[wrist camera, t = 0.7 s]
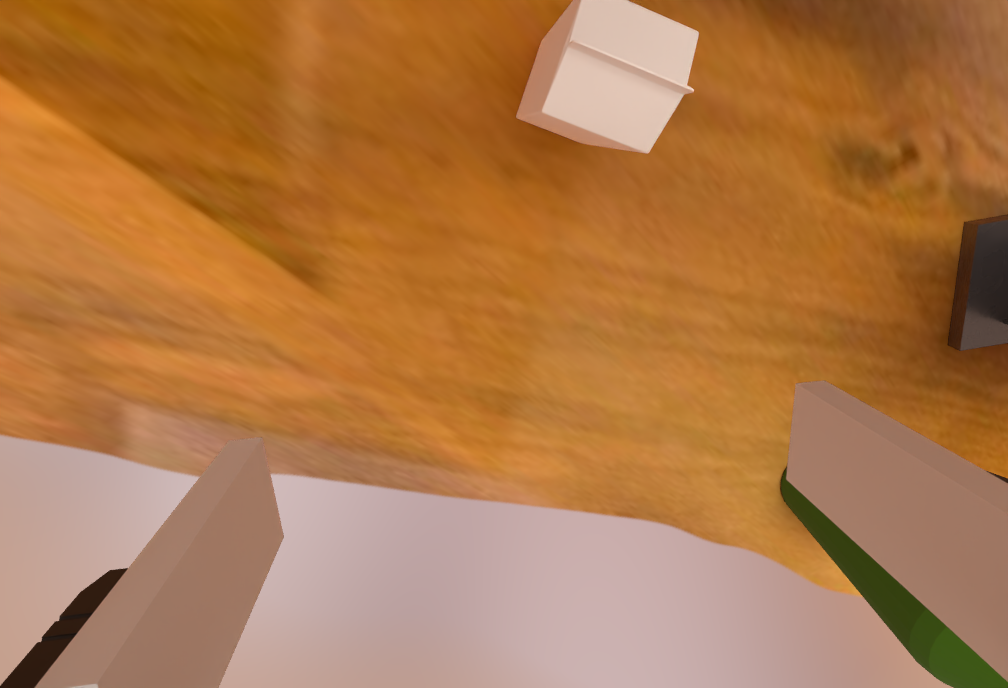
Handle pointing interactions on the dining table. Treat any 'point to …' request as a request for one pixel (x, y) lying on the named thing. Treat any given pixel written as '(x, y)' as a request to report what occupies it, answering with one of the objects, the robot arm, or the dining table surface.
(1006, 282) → the stand
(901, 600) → the wine bottle
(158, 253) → the dining table surface
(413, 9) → the dining table surface
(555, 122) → the milk
